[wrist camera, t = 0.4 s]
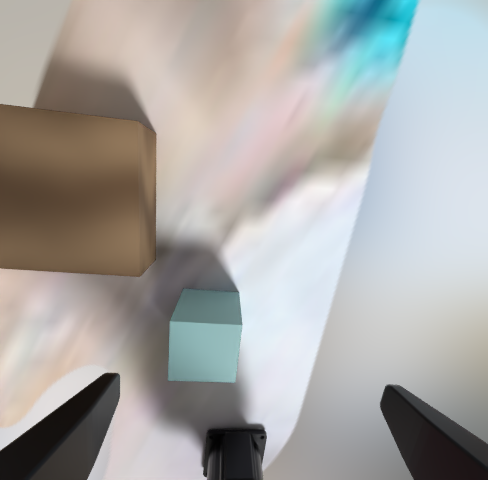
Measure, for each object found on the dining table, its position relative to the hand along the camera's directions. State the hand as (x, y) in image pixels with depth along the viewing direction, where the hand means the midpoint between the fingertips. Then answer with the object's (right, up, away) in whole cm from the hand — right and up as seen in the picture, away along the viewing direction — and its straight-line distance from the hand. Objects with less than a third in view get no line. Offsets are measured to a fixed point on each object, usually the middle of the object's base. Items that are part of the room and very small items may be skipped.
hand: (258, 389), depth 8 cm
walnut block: (-13, +9, +10) cm, 18 cm away
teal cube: (-4, -2, +14) cm, 14 cm away
